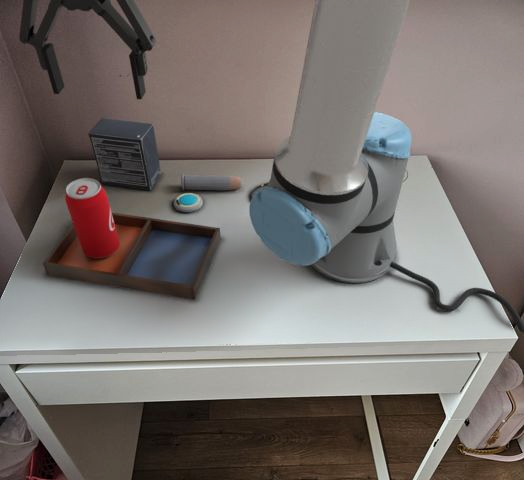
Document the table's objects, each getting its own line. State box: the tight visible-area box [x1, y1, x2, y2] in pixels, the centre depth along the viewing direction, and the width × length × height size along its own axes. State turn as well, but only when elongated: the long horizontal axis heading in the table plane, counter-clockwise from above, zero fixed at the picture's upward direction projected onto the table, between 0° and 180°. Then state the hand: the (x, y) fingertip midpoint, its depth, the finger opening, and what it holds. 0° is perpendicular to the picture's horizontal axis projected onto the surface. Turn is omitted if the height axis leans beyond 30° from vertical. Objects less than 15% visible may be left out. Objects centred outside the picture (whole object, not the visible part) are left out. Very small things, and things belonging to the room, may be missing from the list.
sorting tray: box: [42, 212, 222, 301], centre depth 87 cm, size 25×15×2 cm, turn 77°
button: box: [173, 192, 204, 213], centre depth 96 cm, size 5×5×1 cm
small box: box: [87, 117, 162, 191], centre depth 98 cm, size 11×6×10 cm, turn 77°
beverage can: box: [64, 177, 120, 258], centre depth 84 cm, size 6×6×12 cm
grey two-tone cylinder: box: [180, 173, 242, 191], centre depth 99 cm, size 11×3×3 cm
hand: (100, 93), depth 84 cm, fingers open, 13 cm apart
